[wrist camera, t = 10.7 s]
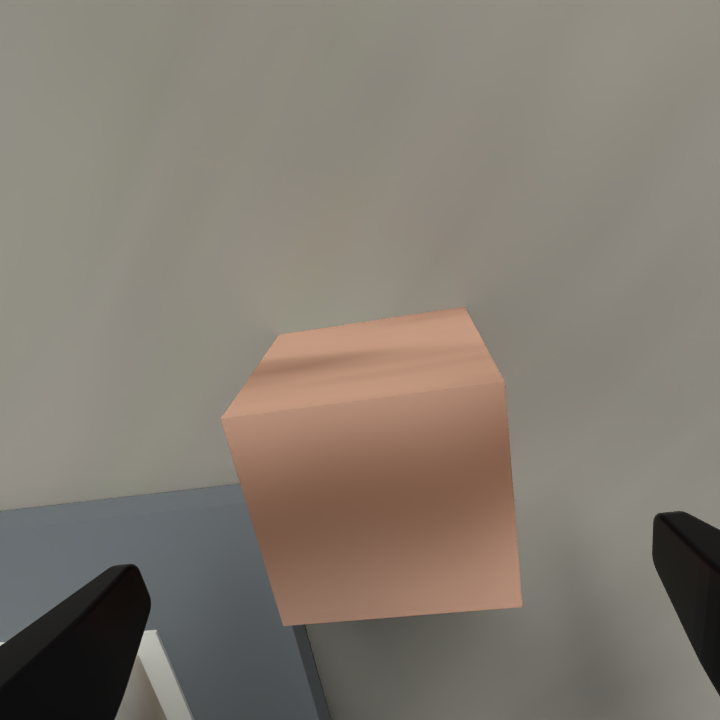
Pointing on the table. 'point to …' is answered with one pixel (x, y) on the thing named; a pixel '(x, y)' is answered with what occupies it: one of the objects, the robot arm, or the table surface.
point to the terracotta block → (379, 470)
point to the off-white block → (140, 697)
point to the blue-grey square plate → (172, 597)
